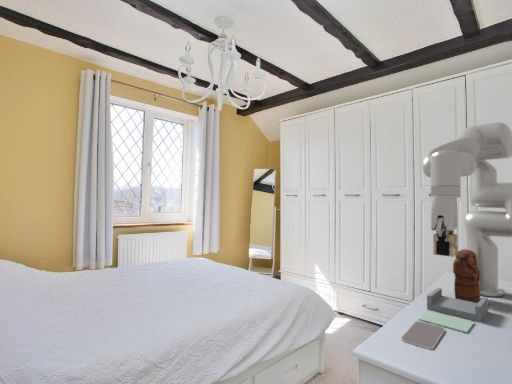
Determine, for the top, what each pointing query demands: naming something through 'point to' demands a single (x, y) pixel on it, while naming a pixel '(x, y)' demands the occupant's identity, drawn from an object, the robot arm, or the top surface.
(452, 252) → the beech block
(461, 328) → the sage mat
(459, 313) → the gray u-shaped channel
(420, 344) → the smartphone
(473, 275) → the wooden figurine
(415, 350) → the top surface
